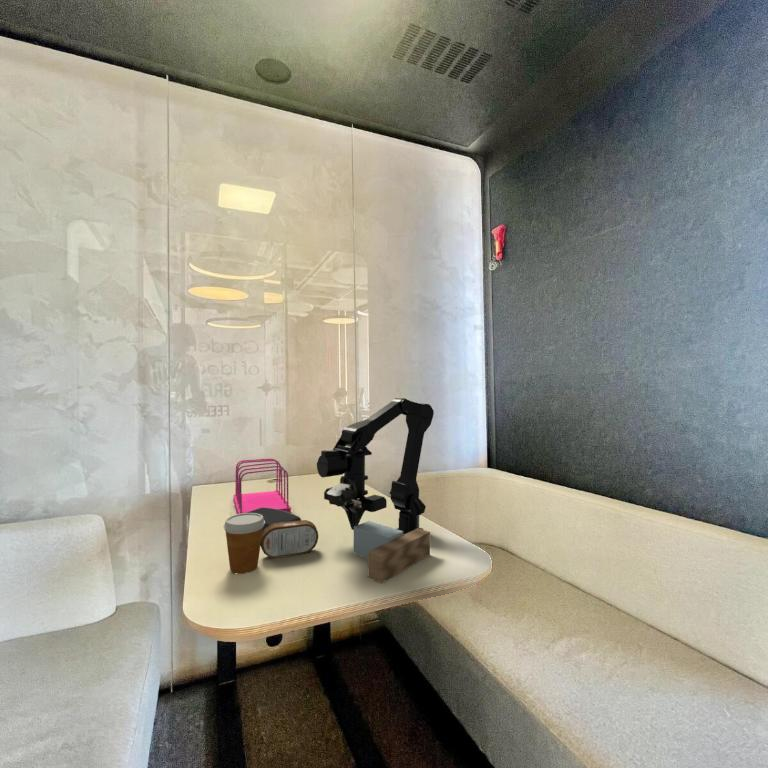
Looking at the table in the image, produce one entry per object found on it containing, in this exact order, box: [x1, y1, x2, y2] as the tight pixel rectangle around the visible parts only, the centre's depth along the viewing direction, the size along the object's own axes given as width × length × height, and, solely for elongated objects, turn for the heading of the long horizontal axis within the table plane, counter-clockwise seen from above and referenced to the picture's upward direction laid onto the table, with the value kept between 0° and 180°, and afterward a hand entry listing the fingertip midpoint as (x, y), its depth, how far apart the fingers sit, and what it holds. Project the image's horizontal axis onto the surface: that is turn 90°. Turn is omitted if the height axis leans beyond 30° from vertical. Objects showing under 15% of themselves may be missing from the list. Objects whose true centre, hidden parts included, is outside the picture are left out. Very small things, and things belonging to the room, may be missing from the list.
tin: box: [260, 519, 319, 559], centre depth 104 cm, size 15×3×8 cm, turn 113°
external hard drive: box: [247, 507, 302, 532], centre depth 124 cm, size 13×19×4 cm
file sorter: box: [232, 458, 292, 514], centre depth 146 cm, size 17×25×16 cm
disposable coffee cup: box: [222, 513, 265, 575], centre depth 96 cm, size 10×10×12 cm
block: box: [353, 520, 404, 559], centre depth 104 cm, size 6×12×7 cm, turn 50°
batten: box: [367, 527, 431, 584], centre depth 98 cm, size 20×4×6 cm, turn 140°
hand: (353, 529), depth 109 cm, fingers closed
